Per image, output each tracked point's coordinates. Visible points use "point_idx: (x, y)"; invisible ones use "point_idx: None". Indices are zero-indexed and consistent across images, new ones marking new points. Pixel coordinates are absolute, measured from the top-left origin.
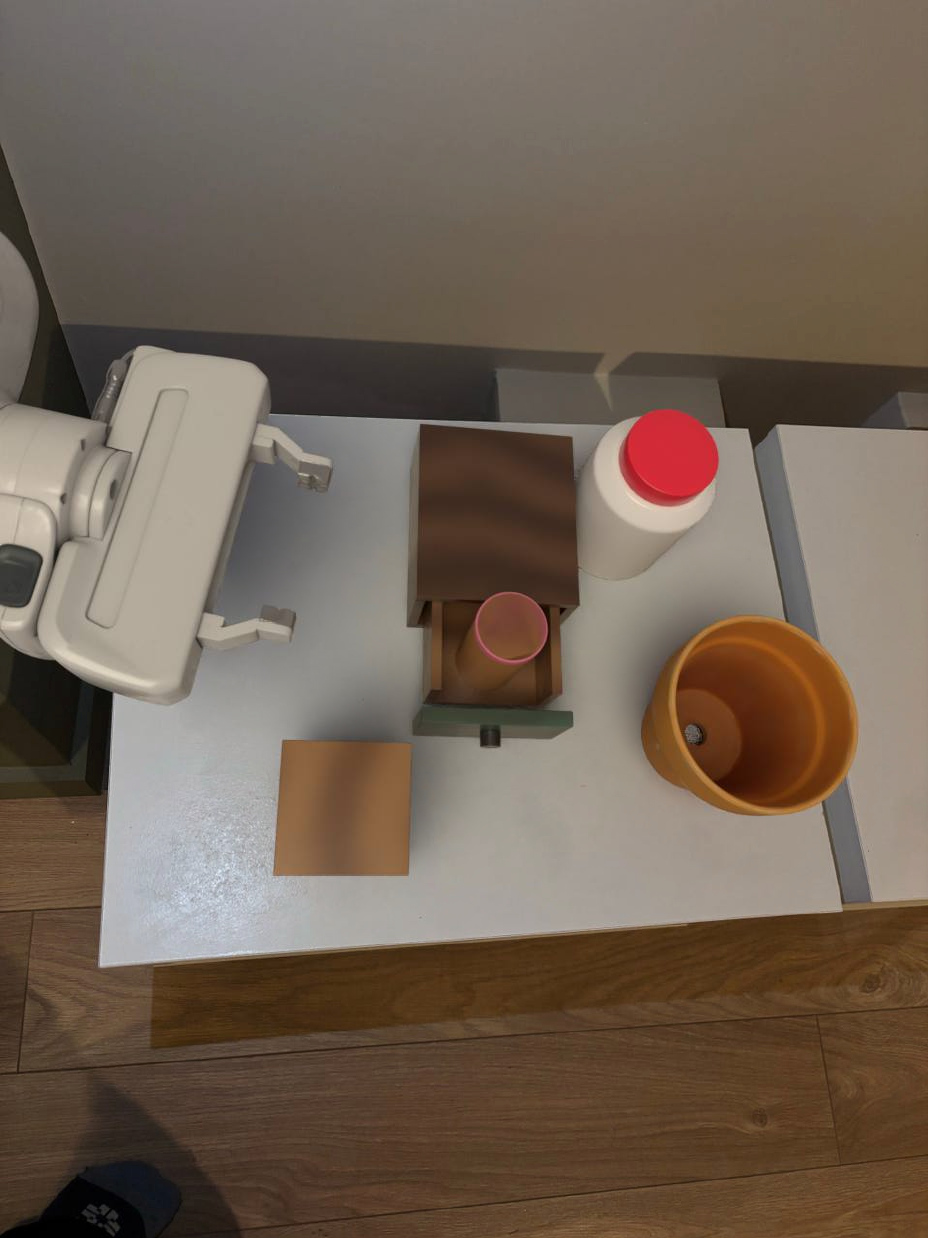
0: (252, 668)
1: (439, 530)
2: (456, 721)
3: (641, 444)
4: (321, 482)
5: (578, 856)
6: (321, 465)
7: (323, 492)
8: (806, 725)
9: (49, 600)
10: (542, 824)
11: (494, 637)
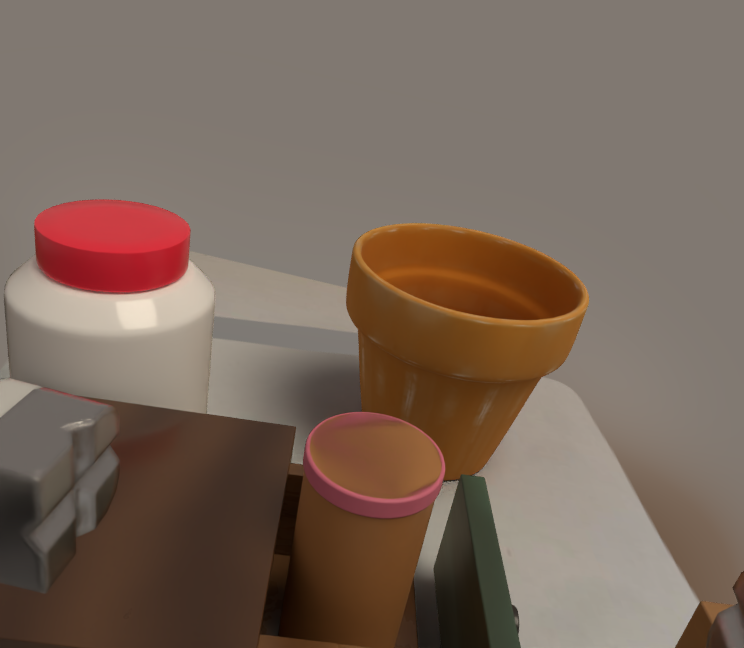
0: None
1: (93, 601)
2: (515, 633)
3: (89, 239)
4: (107, 431)
5: (607, 573)
6: (32, 397)
7: (109, 506)
8: (448, 292)
9: None
10: (578, 610)
11: (400, 478)
